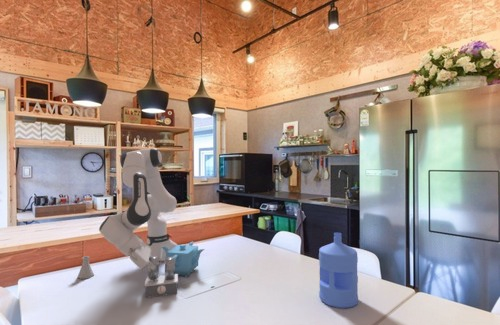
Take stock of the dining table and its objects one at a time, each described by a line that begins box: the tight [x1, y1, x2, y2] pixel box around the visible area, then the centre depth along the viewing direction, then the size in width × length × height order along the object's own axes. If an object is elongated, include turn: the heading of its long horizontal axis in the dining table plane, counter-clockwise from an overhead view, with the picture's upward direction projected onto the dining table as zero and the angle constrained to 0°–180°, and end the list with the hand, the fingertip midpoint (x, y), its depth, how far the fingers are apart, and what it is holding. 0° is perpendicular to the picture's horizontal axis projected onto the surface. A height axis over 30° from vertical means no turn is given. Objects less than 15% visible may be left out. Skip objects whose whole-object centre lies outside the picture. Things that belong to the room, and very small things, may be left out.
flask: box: [77, 255, 95, 280], centre depth 146 cm, size 7×7×10 cm
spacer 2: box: [164, 257, 175, 280], centre depth 129 cm, size 4×4×9 cm
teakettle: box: [161, 241, 206, 278], centre depth 151 cm, size 19×19×15 cm
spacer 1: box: [147, 256, 160, 280], centre depth 127 cm, size 4×4×9 cm
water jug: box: [318, 232, 359, 309], centre depth 120 cm, size 16×16×28 cm
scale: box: [144, 274, 179, 298], centre depth 128 cm, size 14×9×6 cm, turn 105°
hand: (155, 265), depth 128 cm, fingers closed on spacer 1, 4 cm apart
